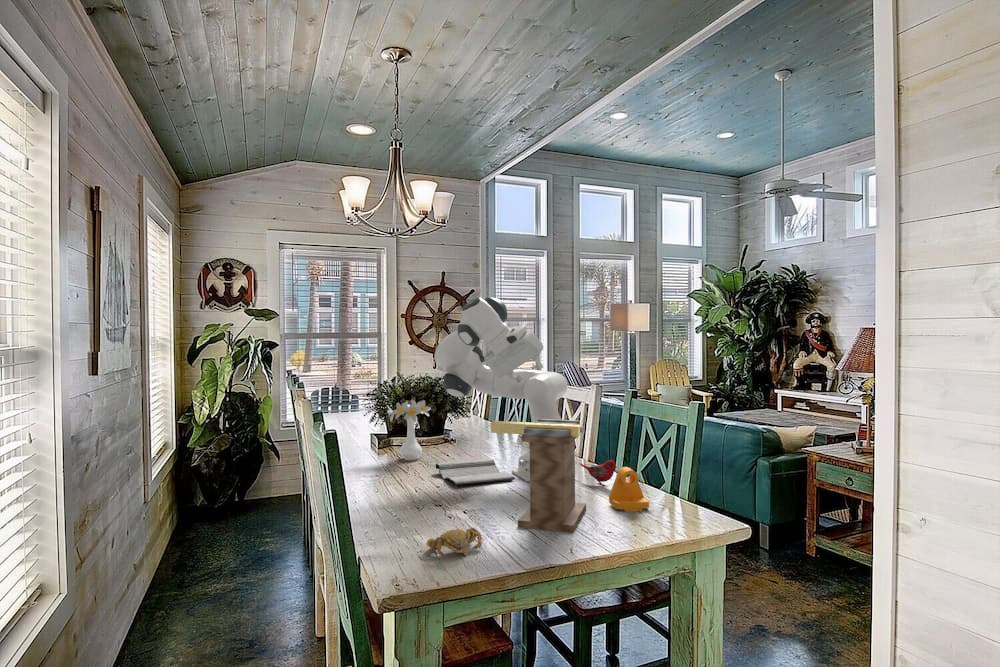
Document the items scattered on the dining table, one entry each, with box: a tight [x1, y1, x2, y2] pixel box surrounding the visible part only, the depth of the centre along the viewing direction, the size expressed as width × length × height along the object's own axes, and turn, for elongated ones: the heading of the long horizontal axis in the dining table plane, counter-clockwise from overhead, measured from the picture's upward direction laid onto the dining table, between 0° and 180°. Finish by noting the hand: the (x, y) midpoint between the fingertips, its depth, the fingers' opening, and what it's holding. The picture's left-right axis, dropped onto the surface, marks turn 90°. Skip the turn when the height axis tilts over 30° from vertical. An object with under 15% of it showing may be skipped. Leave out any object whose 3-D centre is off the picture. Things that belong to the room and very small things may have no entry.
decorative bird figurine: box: [579, 459, 618, 487], centre depth 218 cm, size 3×18×10 cm, turn 40°
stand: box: [517, 419, 587, 534], centre depth 182 cm, size 16×21×28 cm
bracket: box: [608, 466, 650, 512], centre depth 192 cm, size 11×7×12 cm, turn 98°
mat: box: [435, 458, 516, 488], centre depth 230 cm, size 23×24×5 cm
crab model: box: [426, 527, 483, 557], centre depth 158 cm, size 15×13×6 cm
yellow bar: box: [490, 420, 581, 438], centre depth 177 cm, size 26×3×3 cm, turn 72°
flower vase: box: [386, 399, 432, 461], centre depth 260 cm, size 13×18×25 cm
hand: (530, 375), depth 193 cm, fingers open, 8 cm apart
